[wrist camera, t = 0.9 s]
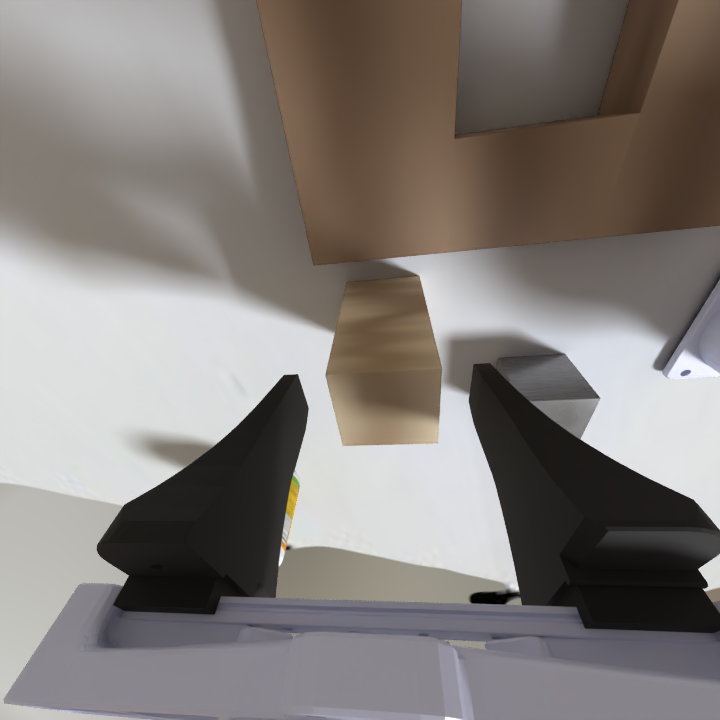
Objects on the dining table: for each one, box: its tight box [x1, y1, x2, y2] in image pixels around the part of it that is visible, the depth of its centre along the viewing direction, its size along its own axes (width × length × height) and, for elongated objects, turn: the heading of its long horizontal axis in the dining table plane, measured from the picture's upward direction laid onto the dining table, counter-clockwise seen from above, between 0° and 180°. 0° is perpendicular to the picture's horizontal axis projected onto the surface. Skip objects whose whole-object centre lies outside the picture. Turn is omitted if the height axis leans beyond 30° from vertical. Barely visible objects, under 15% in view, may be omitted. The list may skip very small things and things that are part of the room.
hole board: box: [256, 0, 720, 266], centre depth 10 cm, size 18×14×2 cm
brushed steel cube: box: [496, 354, 600, 439], centre depth 19 cm, size 4×4×4 cm
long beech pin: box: [326, 276, 442, 446], centre depth 15 cm, size 4×4×8 cm
